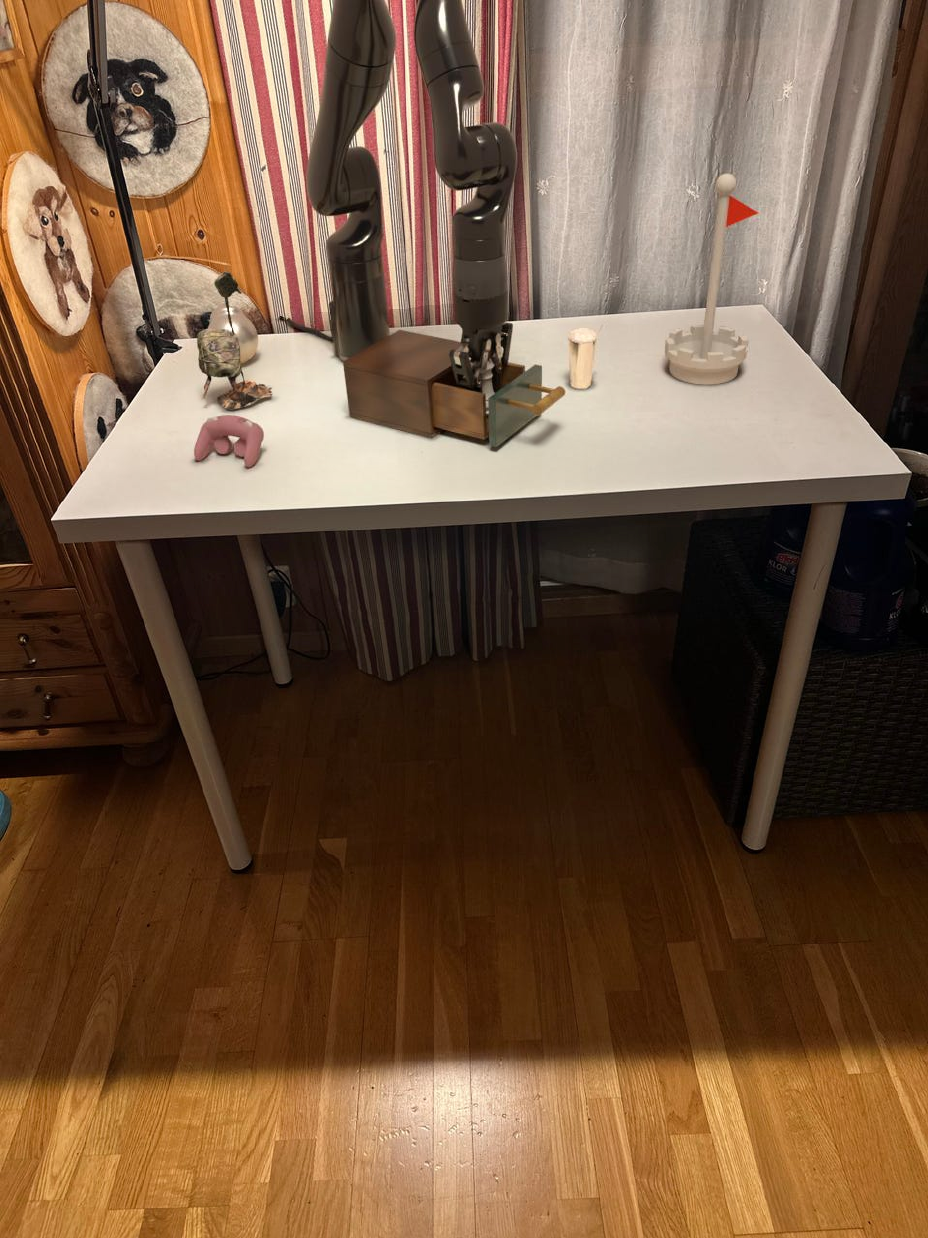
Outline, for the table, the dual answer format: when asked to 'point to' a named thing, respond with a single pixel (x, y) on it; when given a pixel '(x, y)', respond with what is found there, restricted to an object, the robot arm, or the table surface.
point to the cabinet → (398, 381)
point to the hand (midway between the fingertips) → (483, 402)
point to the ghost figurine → (236, 329)
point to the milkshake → (581, 356)
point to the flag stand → (711, 312)
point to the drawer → (492, 404)
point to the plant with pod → (227, 356)
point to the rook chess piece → (487, 382)
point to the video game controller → (218, 434)
